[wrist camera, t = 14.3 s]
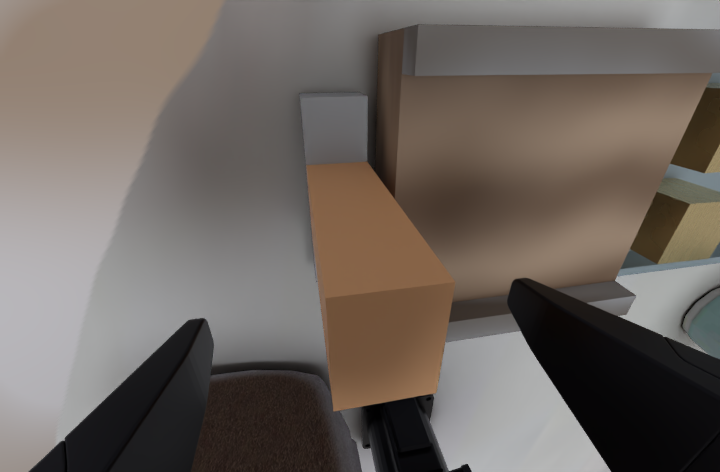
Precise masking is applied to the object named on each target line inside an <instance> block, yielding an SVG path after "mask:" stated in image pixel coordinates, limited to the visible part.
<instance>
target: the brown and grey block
mask: <svg viewBox="0 0 720 472" xmlns="http://www.w3.org/2000/svg"><path fill="white" fill-rule="evenodd" d="M299 95H300V107H301V118H302V130H303V141H304V152H305V164H306V175H307V187H308V198H309V209H310V221H311V232H312V244H313V255H314V266H315V275H316V282H318V287H319V296H320V304H321V312H322V320H323V329H324V337H325V345H326V354H327V362H328V370H329V378H330V387H331V395H332V403H333V412H334V411H339V410H345V409H350V408H356V407H362V406H367V405H373V404H378V403H384V402H389V401H395V400H400V399H406V398H411V397H417V396H423V395H428V394H434V393H436V392H437V386H438V381H439V375H440V369H441V363H442V357H443V352H444V346H445V340H446V334H447V329H448V323H449V317H450V311H451V305H452V300H453V294H454V288H455V281H454V279H453V278H452V277H451V275H450V274H449V272H448V271H447V270H446V268H445V267H444V266H443V264H442V263H441V262H440V260H439V259H438V257H437V256H436V255H435V253H434V252H433V251H432V249H431V248H430V247H429V245H428V244H427V242H426V241H425V240H424V238H423V237H422V236H421V234H420V233H419V232H418V230H417V229H416V228H415V226H414V225H413V223H412V222H411V221H410V219H409V218H408V217H407V215H406V214H405V213H404V211H403V210H402V208H401V207H400V206H399V204H398V203H397V202H396V200H395V199H394V198H393V196H392V195H391V193H390V192H389V191H388V189H387V188H386V187H385V185H384V184H383V183H382V181H381V180H380V178H379V177H378V176H377V174H376V173H375V172H374V170H373V169H372V168H371V166H370V165H369V163H368V162H367V112H368V96H366V95H364V94H362V93H360V92H342V93H299Z"/></svg>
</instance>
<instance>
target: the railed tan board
mask: <svg viewBox="0 0 720 472" xmlns="http://www.w3.org/2000/svg"><path fill="white" fill-rule="evenodd" d="M712 73H720V30H715V29H657V28H599V27H541V26H483V25H425V24H418V25H414V26H410V27H406V28H403V29H399V30H395V31H391V32H387V33H383V34H379V35H378V78H377V121H376V164H375V173H376V174H377V176H378V177H379V178H380V180H381V181H382V183H383V184H384V185H385V187H386V188H387V189H388V191H389V192H390V193H391V195H392V196H393V198H394V199H395V200H396V202H397V203H398V204H399V206H400V207H401V208H402V210H403V211H404V213H405V214H406V215H407V217H408V218H409V219H410V221H411V222H412V223H413V225H414V226H415V228H416V229H417V230H418V232H419V233H420V234H421V236H422V237H423V238H424V240H425V241H426V242H427V244H428V245H429V247H430V248H431V249H432V251H433V252H434V253H435V255H436V256H437V257H438V259H439V260H440V262H441V263H442V264H443V266H444V267H445V268H446V270H447V271H448V272H449V274H450V275H451V277H452V278H453V279H454V281H455V288H454V294H453V300H452V305H451V311H450V317H449V323H448V329H447V334H446V340H445V342H451V341H457V340H464V339H470V338H477V337H483V336H490V335H496V334H503V333H509V332H516V331H521V330H520V328H519V327H518V325H517V323H516V321H515V319H514V317H513V315H512V313H511V311H510V310H509V308H508V305H507V298H508V294H509V291H510V287H511V284H512V281H513V280H514V279H518V278H530V279H532V280H534V281H537V282H539V283H541V284H544V285H546V286H548V287H551V288H553V289H555V290H558V291H560V292H562V293H565V294H567V295H569V296H572V297H574V298H576V299H579V300H581V301H583V302H586V303H588V304H590V305H593V306H595V307H597V308H600V309H602V310H604V311H607V312H609V313H611V314H614V315H616V316H620V315H626V314H627V312H628V310H629V309H630V307H631V305H632V303H633V301H634V299H635V297H636V295H635V294H633V293H632V292H630V291H629V290H627V289H626V288H624V287H623V286H621V285H620V284H619V283H617V282H616V281H615V279H616V277H617V275H618V273H619V271H620V269H621V266H622V264H623V262H624V260H625V258H626V256H627V254H628V252H629V250H630V247H631V245H632V243H633V241H634V239H635V237H636V235H637V233H638V230H639V228H640V226H641V224H642V222H643V220H644V218H645V216H646V213H647V211H648V209H649V207H650V205H651V203H652V201H653V199H654V196H655V194H656V192H657V190H658V188H659V186H660V184H661V182H662V179H663V177H664V175H665V173H666V171H667V169H668V167H669V165H670V162H671V160H672V158H673V156H674V154H675V152H676V150H677V148H678V146H679V143H680V141H681V139H682V137H683V135H684V133H685V131H686V129H687V126H688V124H689V122H690V120H691V118H692V116H693V114H694V112H695V109H696V107H697V105H698V103H699V101H700V99H701V97H702V95H703V92H704V90H705V88H706V86H707V84H708V82H709V80H710V78H711V75H712Z"/></svg>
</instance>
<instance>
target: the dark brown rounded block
mask: <svg viewBox="0 0 720 472" xmlns="http://www.w3.org/2000/svg"><path fill="white" fill-rule="evenodd" d="M191 472H362V469H361V464H360V459H359V454H358V449H357V444H356V442H355V441H354V440H353V439H351V435H350V430H349V428H348V426H347V424H346V422H345V420H344V419H343V417H342V415H341V413H340V411H334V412H333V403H332V395H331V393H330V391H329V389H328V387H327V385H326V384H325V382H324V381H323V380H322V379H321V378H320V377H319V376H318V375H313V374H308V373H302V372H297V371H281V370H249V371H241V372H233V373H225V374H217V375H210V383H209V392H208V399H207V405H206V410H205V415H204V419H203V423H202V427H201V432H200V436H199V440H198V444H197V448H196V453H195V457H194V461H193V465H192V469H191Z"/></svg>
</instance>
